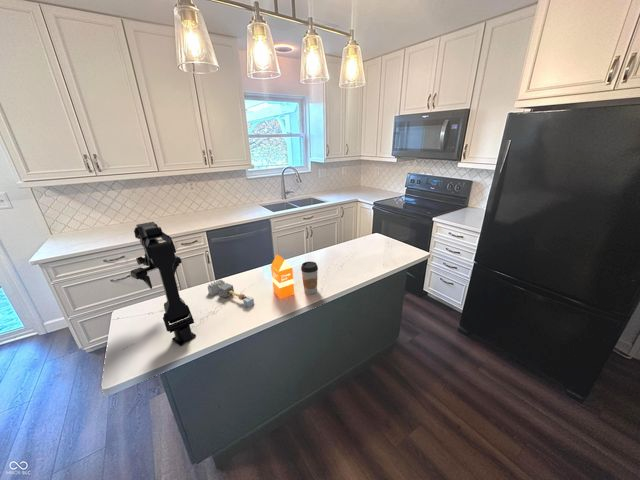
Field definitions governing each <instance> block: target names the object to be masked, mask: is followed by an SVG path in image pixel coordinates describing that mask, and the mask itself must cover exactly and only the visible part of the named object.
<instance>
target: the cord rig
mask: <svg viewBox="0 0 640 480" xmlns="http://www.w3.org/2000/svg"><path fill="white" fill-rule="evenodd" d="M225 283H226V281H224V280H223V279H220V278H219V279H218V280H217V279H216V280H215V281H213V282H210V283H209V284H207V285H208V286H207V291H208V294H209V295H211V296H214V295H216V294H217V293H218V294H219V289H218V287H220V286H222V285H223V284H225ZM227 291H228V292H229V293H231V295H234V296H235V297H238V300H240V301H243V306H244V307H245V308H247V309H249V308H251V307H253V306H254V305H255V299H254V297H251V296H247V295H245V294H244V293H237V292H235V291H234V292H233V291H230V290H227Z"/></svg>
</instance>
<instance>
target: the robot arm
mask: <svg viewBox="0 0 640 480" xmlns="http://www.w3.org/2000/svg"><path fill="white" fill-rule="evenodd" d="M135 226H136V227H134V230H133V233H134V237H135V239H137V240H139V242H140V244H141V246H142V248H143V250H144V253H145V254H144V257H143V256H139V257H136V258H135V259H136V263H137V265H138V266H139V267H137V268H134V269H132V270H130V272H129V273H130V276H131V278H134V279H136V280H141V281H143V282H144V283H145V284H146V285H147V286H148V287H149V289H151V290H152V289H153V284H152V282H151V278H150V276H149V275H148V273H150V272H152V271H155V270H157V269H158V272H159V275H160V279H161V282H162V288H163V290H164V295H165V297H166V302H164V303H163V310H164V313H163V317H162V320H163V323H164V326H165V329H166V332H169V334H170V333H173V334H174V337H173V338H171V341H173V342H174V343H175V344H177V345H178V346H183V345H185V344H186V343H189V342H190V341H191V340H193V339H194V338H196V337H197V334H196V333H194V332H192V329H191V325H192V324H195V320H194V318H193V315H192V313H191V309H190V306H189V305H188V304H186V303H185V301H184V299H183V298H182V297H180V293H179V289H178V284H177V280H176V277H175V275H176V271H177V269H178V267H179V266H180V264H181V263H182V258H181V257H180V256H177V255H176V253H177V250H176V246H175V244H174V242H173V239H172V237H171V236H170V235H169V234H166V233H165V232H163V230H162V227H160V226H158V224H157V223H155V221H150V222H149V221H148V222H144V223H137V224H136V225H135ZM159 238H161V239H162V240H163V242H160V241H159ZM140 265H143V266H146V267H145V268H144V267H140Z"/></svg>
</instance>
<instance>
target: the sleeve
mask: <svg viewBox="0 0 640 480" xmlns="http://www.w3.org/2000/svg"><path fill="white" fill-rule="evenodd" d="M218 289H219V292H218V294H219V296H222V297H224V298H228V297H229V296H232V294H231V293H229V292H228V291H227V290H230V291H233V292H235V290H234V285H233V284H231V283H228V282H225V284H223V285H222V286H220V287H218Z"/></svg>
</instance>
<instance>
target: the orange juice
mask: <svg viewBox="0 0 640 480" xmlns="http://www.w3.org/2000/svg"><path fill="white" fill-rule="evenodd" d="M270 271H271V281H272V288H273V290H272V291H273V292H274V293H275V294H276V296H278V298H280V300H282V299H284V298H287V297H289V296H290V297H291V296H293V295H295V284H294V272H293V271H294V270H293V267H292V265H290V263H289V262H287V260H286V259H284V258H283V257H282V256H280V255H279V254H276V255H275V258H274V259H273V260H272V263H271V265H270Z"/></svg>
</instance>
